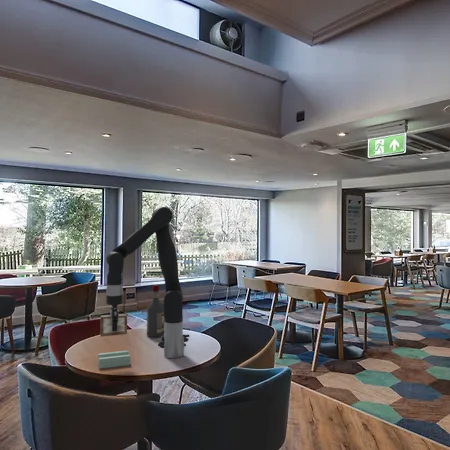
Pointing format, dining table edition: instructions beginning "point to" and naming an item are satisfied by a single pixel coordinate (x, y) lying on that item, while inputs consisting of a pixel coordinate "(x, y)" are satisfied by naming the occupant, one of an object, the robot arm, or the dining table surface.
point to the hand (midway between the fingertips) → (114, 329)
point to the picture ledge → (113, 359)
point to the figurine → (163, 340)
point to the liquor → (155, 316)
